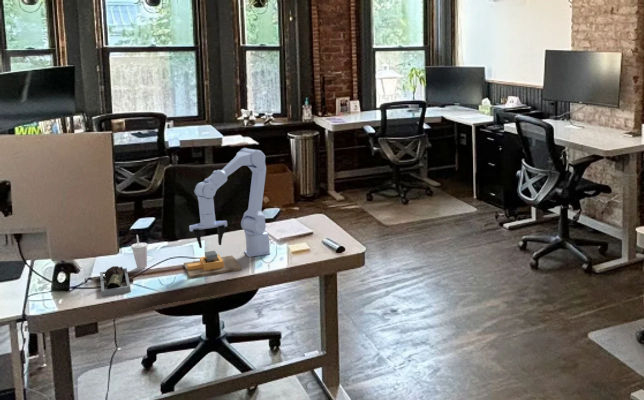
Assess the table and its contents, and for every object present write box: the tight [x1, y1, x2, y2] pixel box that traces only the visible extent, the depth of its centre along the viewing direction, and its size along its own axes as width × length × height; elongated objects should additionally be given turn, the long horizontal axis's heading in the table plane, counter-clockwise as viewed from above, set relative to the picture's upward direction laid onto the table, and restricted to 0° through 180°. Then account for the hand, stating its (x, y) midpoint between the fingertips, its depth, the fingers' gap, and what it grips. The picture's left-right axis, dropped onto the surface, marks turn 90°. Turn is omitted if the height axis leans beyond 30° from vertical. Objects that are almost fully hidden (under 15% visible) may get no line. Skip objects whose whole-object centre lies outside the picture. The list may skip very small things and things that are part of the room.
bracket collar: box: [187, 254, 224, 270], centre depth 252 cm, size 13×9×2 cm, turn 110°
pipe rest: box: [99, 267, 132, 297], centre depth 240 cm, size 10×21×2 cm, turn 20°
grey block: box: [204, 250, 218, 263], centre depth 253 cm, size 4×5×6 cm
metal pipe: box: [104, 265, 125, 289], centre depth 240 cm, size 18×7×6 cm, turn 11°
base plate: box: [183, 254, 242, 279], centre depth 253 cm, size 20×16×1 cm
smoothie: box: [130, 234, 149, 270], centre depth 255 cm, size 6×6×14 cm
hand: (210, 245), depth 251 cm, fingers open, 7 cm apart
